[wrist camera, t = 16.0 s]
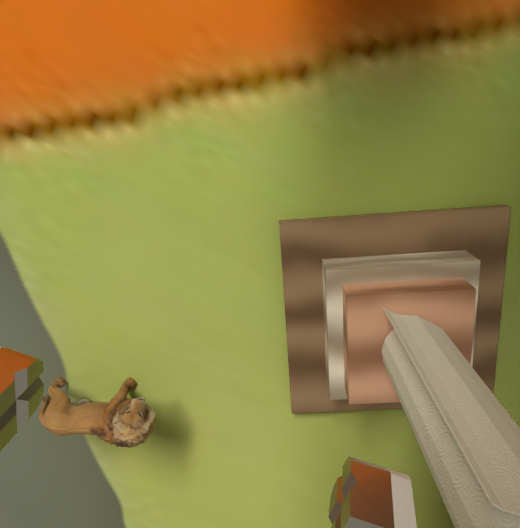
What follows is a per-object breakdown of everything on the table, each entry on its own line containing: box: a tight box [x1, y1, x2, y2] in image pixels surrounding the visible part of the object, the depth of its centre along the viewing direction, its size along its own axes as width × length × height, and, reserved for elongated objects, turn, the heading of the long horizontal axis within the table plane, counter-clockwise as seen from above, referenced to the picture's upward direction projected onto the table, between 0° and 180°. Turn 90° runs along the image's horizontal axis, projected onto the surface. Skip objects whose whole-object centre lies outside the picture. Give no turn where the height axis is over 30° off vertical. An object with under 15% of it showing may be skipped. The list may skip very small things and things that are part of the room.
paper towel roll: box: [381, 308, 520, 528], centre depth 30 cm, size 7×6×21 cm
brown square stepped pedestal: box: [279, 205, 511, 413], centre depth 44 cm, size 22×22×8 cm
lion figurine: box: [39, 377, 155, 447], centre depth 48 cm, size 15×5×9 cm, turn 98°
